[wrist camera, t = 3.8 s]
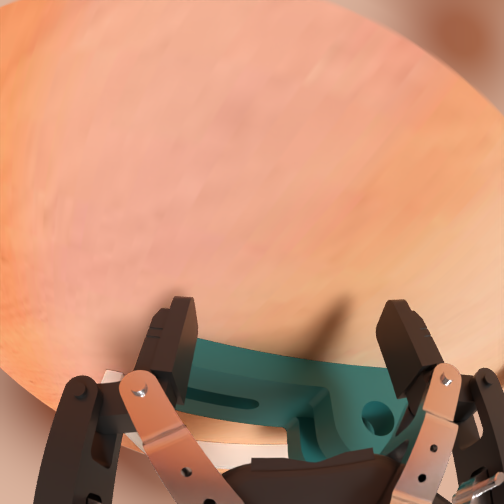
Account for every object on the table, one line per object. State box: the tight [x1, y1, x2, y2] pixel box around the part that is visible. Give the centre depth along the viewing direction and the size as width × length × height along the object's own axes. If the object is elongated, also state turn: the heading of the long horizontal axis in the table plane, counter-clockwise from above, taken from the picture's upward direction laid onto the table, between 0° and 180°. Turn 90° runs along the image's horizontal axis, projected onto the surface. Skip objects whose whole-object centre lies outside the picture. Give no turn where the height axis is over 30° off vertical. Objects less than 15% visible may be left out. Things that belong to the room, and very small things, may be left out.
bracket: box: [175, 338, 408, 462], centre depth 15 cm, size 18×7×8 cm, turn 73°
